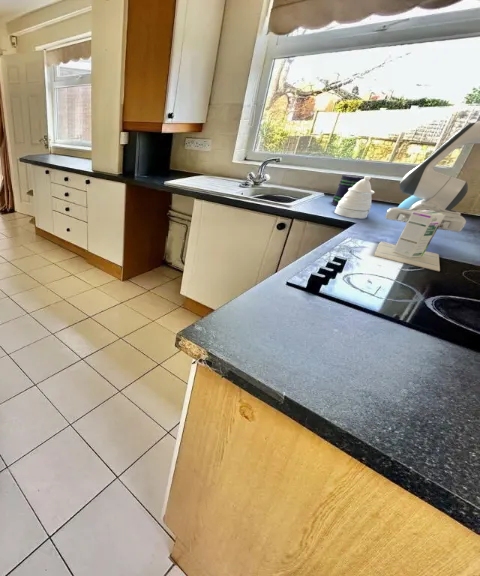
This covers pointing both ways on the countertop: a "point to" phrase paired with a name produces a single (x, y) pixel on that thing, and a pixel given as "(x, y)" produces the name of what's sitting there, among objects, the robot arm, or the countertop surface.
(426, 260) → the wooden board
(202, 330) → the countertop surface
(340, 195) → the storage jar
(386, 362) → the countertop surface
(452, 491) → the countertop surface
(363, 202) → the honey pot
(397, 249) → the syrup box
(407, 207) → the sugar bowl
